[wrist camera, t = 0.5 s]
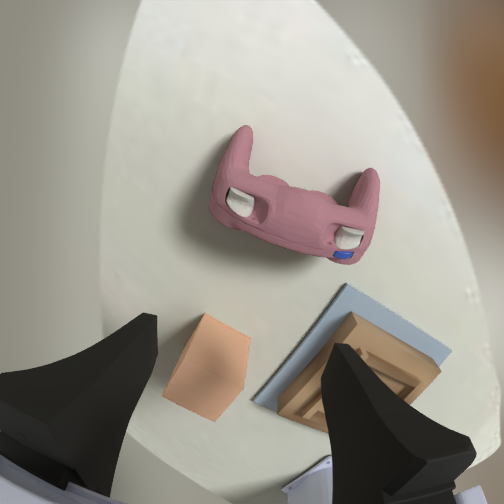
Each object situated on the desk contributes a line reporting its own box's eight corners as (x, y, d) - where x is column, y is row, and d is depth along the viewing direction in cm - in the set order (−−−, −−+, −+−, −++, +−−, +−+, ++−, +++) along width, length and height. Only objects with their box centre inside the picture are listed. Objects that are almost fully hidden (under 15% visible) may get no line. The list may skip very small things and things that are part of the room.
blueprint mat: (361, 438, 26) (362, 441, 25) (253, 398, 25) (253, 401, 24) (450, 348, 22) (452, 350, 22) (346, 282, 21) (347, 284, 21)
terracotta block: (226, 370, 24) (214, 422, 18) (183, 348, 24) (161, 395, 18) (250, 337, 23) (243, 388, 17) (205, 312, 23) (184, 358, 17)
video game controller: (225, 176, 21) (191, 237, 16) (238, 117, 18) (201, 162, 13) (355, 219, 21) (362, 291, 16) (382, 167, 18) (404, 231, 13)
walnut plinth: (361, 430, 25) (366, 450, 22) (277, 398, 24) (277, 421, 21) (432, 358, 22) (445, 376, 19) (351, 310, 21) (360, 330, 19)
